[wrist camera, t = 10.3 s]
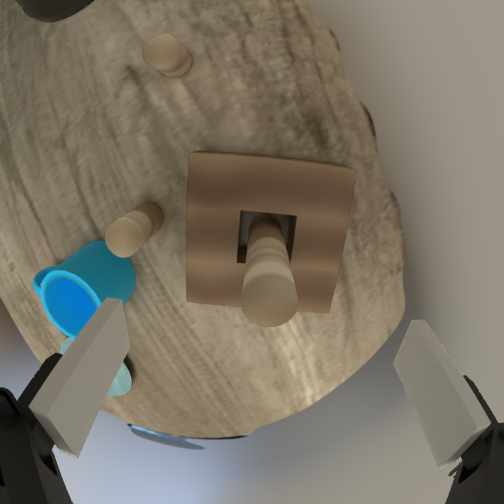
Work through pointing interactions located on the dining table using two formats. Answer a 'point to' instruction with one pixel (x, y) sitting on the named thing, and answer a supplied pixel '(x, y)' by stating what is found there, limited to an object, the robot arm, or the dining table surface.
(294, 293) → the dowel long
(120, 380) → the saucer
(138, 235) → the dowel mid
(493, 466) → the robot arm
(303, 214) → the collar block
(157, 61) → the dowel short
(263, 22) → the dining table surface
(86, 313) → the mug
